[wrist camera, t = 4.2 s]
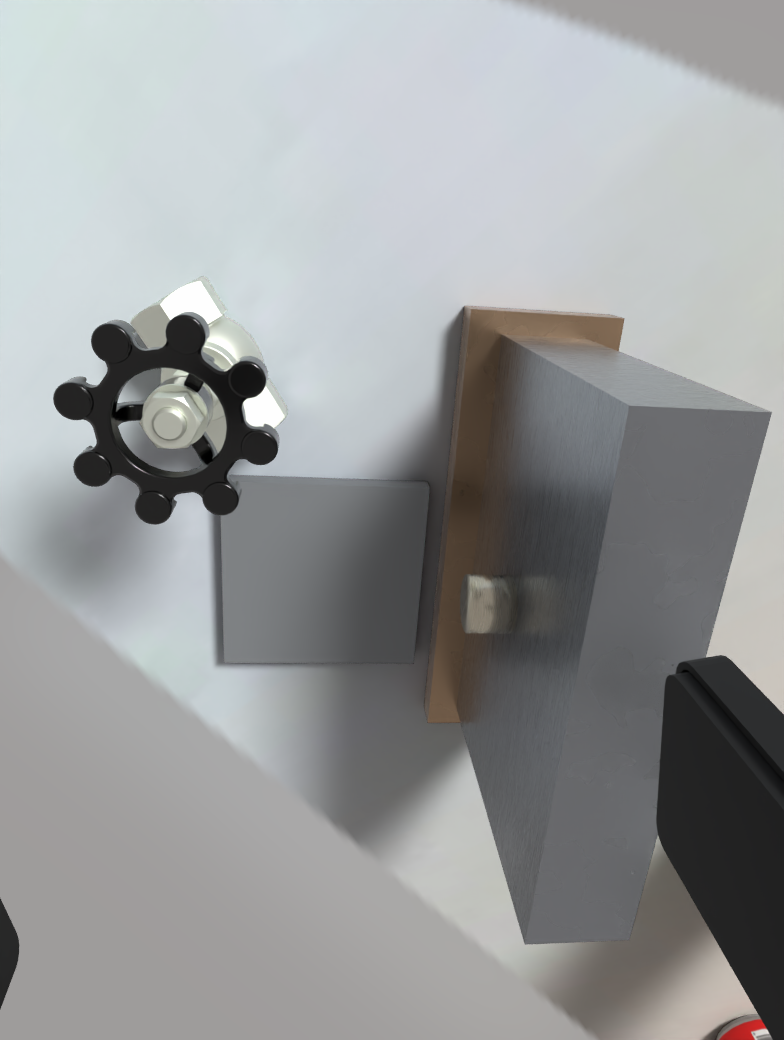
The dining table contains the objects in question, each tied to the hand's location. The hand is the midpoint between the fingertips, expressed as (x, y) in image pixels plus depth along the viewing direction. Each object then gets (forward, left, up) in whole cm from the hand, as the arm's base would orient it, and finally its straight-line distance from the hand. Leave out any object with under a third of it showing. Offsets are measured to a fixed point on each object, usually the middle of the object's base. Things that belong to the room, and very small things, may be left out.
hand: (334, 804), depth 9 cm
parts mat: (0, +9, -26) cm, 27 cm away
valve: (+5, -1, -26) cm, 27 cm away
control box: (-10, +7, -26) cm, 28 cm away
